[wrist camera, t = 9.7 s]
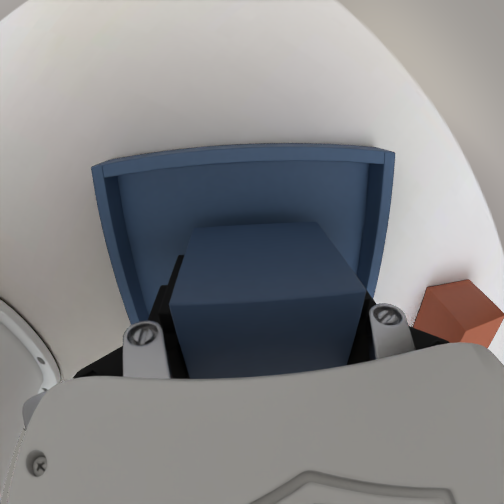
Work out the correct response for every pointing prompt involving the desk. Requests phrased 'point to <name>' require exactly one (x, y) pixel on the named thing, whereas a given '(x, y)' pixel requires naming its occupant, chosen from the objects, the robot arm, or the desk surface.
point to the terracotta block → (459, 314)
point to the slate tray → (238, 204)
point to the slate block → (264, 301)
